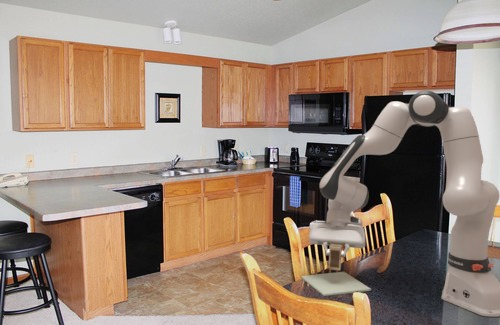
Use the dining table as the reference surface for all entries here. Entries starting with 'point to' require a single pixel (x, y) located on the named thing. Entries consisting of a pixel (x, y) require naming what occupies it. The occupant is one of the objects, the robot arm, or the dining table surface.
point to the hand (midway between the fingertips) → (335, 255)
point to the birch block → (335, 257)
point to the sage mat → (335, 283)
